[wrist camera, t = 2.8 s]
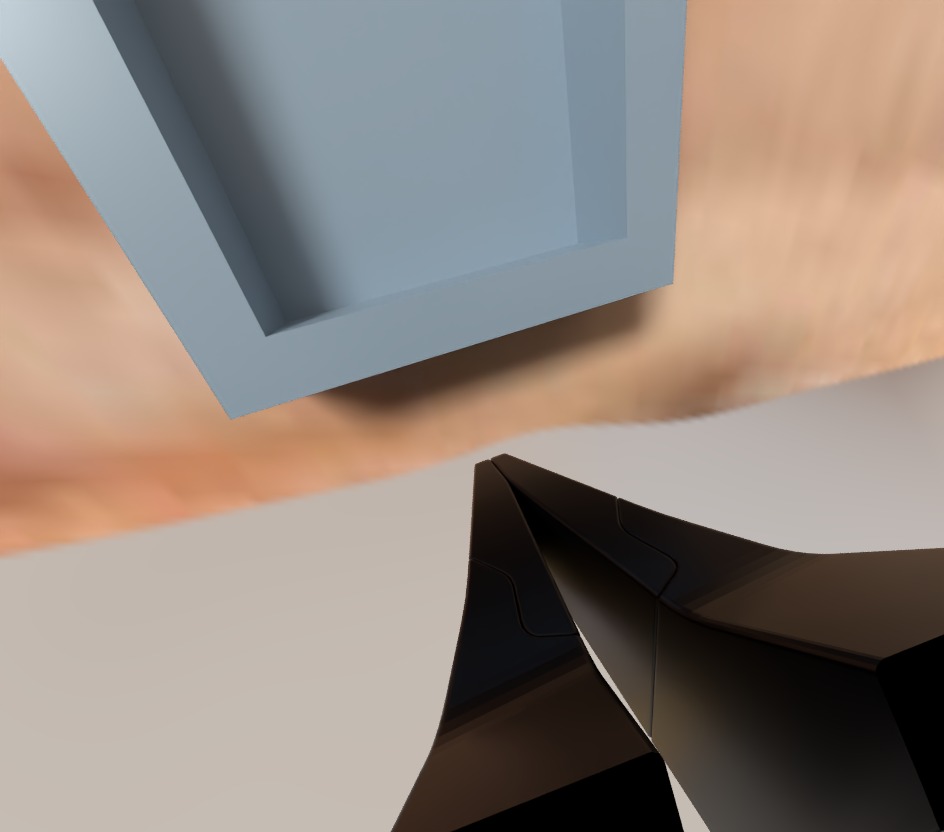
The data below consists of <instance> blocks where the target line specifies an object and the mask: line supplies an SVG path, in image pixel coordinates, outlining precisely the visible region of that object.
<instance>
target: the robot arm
mask: <svg viewBox="0 0 944 832" xmlns="http://www.w3.org/2000/svg"><path fill="white" fill-rule="evenodd" d="M469 552H470V553H469V565H468V579H467V588H466V598H465V604H464V610H463V616H462V622H461V627H460V632H459V637H458V641H457V647H456V651H455V656H454V661H453V665H452V670H451V676H450V680H449V685H448V690H447V695H446V700H445V703H444V708H443V712H442V716H441V720H440V723H439V727H438V730H437V733H436V737H435V740H434V743H433V746H432V748H431V750H430V753H429V755H428V757H427V760H426V762H425V764H424V766H423V768H422V770H421V772H420V774H419V776H418V778H417V780H416V782H415V784H414V786H413V788H412V790H411V792H410V794H409V796H408V798H407V800H406V802H405V804H404V806H403V808H402V810H401V812H400V814H399V816H398V818H397V820H396V822H395V824H394V826H393V828H392V830H391V832H684V830H683V827H682V823H681V819H680V816H679V812H678V809H677V805H676V801H675V798H674V794H673V790H672V787H671V783H670V780H669V776H668V772H667V769H666V765H665V762H666V764H667V765H668V767H669V768H670V770H671V771H672V773H673V775H674V776H675V778H676V779H677V781H678V782H679V784H680V785H681V787H682V788H683V790H684V792H685V793H686V794H687V796H688V798H689V799H690V801H691V802H692V804H693V805H694V807H695V808H696V810H697V811H698V813H699V815H700V816H701V818H702V819H703V821H704V822H705V824H706V826H707V827H708V829H709V830H710V832H944V548H935V549H915V550H897V551H879V552H860V553H840V554H811V553H801V552H794V551H789V550H784V549H779V548H775V547H771V546H768V545H764V544H761V543H757V542H754V541H750V540H747V539H744V538H740V537H737V536H734V535H730V534H727V533H724V532H720V531H716V530H714V529H710V528H707V527H704V526H700V525H697V524H693V523H690V522H687V521H684V520H681V519H678V518H675V517H671V516H668V515H665V514H662V513H659V512H656V511H653V510H651V509H648V508H645V507H642V506H640V505H637V504H634V503H632V502H629V501H626V500H624V499H621V498H618V499H617V497H616V496H613V495H610V494H608V493H605V492H603V491H600V490H598V489H595V488H593V487H590V486H588V485H585V484H582V483H580V482H577V481H575V480H572V479H570V478H567V477H564V476H562V475H559V474H557V473H554V472H552V471H549V470H546V469H544V468H541V467H539V466H536V465H533V464H531V463H528V462H526V461H523V460H521V459H518V458H516V457H513V456H510V455H508V454H501V455H499V456H496V457H493V458H491V461H490V460H485V461H482V462H480V463H477V464H475V469H474V486H473V502H472V518H471V535H470V551H469ZM573 620H574V621H575V623H576V624H577V625H578V627H579V629H580V631H581V632H582V634H583V635H584V637H585V638H586V640H587V641H588V643H589V644H590V646H591V648H592V649H593V651H594V652H595V654H596V655H597V657H598V658H599V660H600V661H601V663H602V664H603V666H604V668H605V669H606V670H607V672H608V674H609V675H610V677H611V678H612V680H613V681H614V683H615V684H616V686H617V688H618V689H619V691H620V692H621V694H622V695H623V697H624V699H625V700H626V702H627V703H628V705H629V706H630V708H631V709H632V711H633V712H634V714H635V715H636V717H637V718H638V720H639V722H640V723H641V725H642V726H643V728H644V729H645V731H646V732H647V734H648V736H649V737H651V738H652V742H653V744H654V745H655V746H654V745H653V744H652V742H651V741H650V740H649V738H648V737H647V736H646V734H645V733H644V732H643V730H642V729H641V728H640V726H639V725H638V723H637V722H636V721H635V719H634V718H633V717H632V715H631V714H630V713H629V711H628V710H627V709H626V707H625V706H624V705H623V703H622V702H621V701H620V699H619V698H618V697H617V695H616V694H615V692H614V691H613V690H612V688H611V687H610V686H609V684H608V683H607V682H606V680H605V679H604V678H603V676H602V675H601V673H600V672H599V670H598V669H597V667H596V665H595V663H594V661H593V660H592V658H591V656H590V654H589V652H588V650H587V648H586V646H585V644H584V642H583V640H582V638H581V637H580V634H579V631H578V629H577V627H576V625H575V623H574V621H573ZM655 747H656V748H657V749H656V748H655ZM658 751H659V752H658ZM660 754H661V755H660Z"/></svg>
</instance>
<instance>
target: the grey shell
mask: <svg viewBox="0 0 944 832" xmlns="http://www.w3.org/2000/svg"><path fill="white" fill-rule="evenodd" d="M686 8H687V0H0V58H1V60H2V61H3V63H4V64H5V66H6V68H7V69H8V71H9V72H10V74H11V75H12V77H13V79H14V80H15V82H16V83H17V85H18V86H19V88H20V90H21V91H22V93H23V94H24V96H25V97H26V99H27V101H28V102H29V104H30V105H31V107H32V108H33V110H34V112H35V113H36V115H37V116H38V118H39V119H40V121H41V123H42V124H43V126H44V127H45V129H46V130H47V132H48V134H49V135H50V137H51V138H52V140H53V141H54V143H55V145H56V146H57V148H58V149H59V151H60V152H61V154H62V156H63V157H64V159H65V160H66V162H67V163H68V165H69V167H70V168H71V170H72V171H73V173H74V174H75V176H76V178H77V179H78V181H79V182H80V184H81V185H82V187H83V189H84V190H85V192H86V193H87V195H88V196H89V198H90V200H91V201H92V203H93V204H94V206H95V207H96V209H97V211H98V212H99V214H100V215H101V217H102V218H103V220H104V222H105V223H106V225H107V226H108V228H109V229H110V231H111V233H112V234H113V236H114V237H115V239H116V240H117V242H118V244H119V245H120V247H121V248H122V250H123V251H124V253H125V255H126V256H127V258H128V259H129V261H130V262H131V264H132V266H133V267H134V269H135V270H136V272H137V273H138V275H139V277H140V278H141V280H142V281H143V283H144V284H145V286H146V288H147V289H148V291H149V292H150V294H151V295H152V297H153V299H154V300H155V302H156V303H157V305H158V306H159V308H160V310H161V311H162V313H163V314H164V316H165V317H166V319H167V321H168V322H169V324H170V325H171V327H172V328H173V330H174V332H175V333H176V335H177V336H178V338H179V339H180V341H181V343H182V344H183V346H184V347H185V349H186V350H187V352H188V354H189V355H190V357H191V358H192V360H193V361H194V363H195V365H196V366H197V368H198V369H199V371H200V372H201V374H202V376H203V377H204V379H205V380H206V382H207V383H208V385H209V387H210V388H211V390H212V391H213V393H214V394H215V396H216V398H217V399H218V401H219V402H220V404H221V405H222V407H223V409H224V410H225V412H226V413H227V415H228V416H229V418H230V420H231V419H234V418H237V417H241V416H244V415H247V414H250V413H254V412H257V411H260V410H263V409H267V408H270V407H273V406H276V405H280V404H283V403H286V402H289V401H293V400H296V399H299V398H302V397H306V396H309V395H312V394H315V393H319V392H322V391H325V390H328V389H332V388H335V387H338V386H341V385H345V384H348V383H351V382H354V381H358V380H361V379H364V378H367V377H371V376H374V375H377V374H380V373H384V372H387V371H390V370H393V369H397V368H400V367H403V366H406V365H410V364H413V363H416V362H419V361H422V360H426V359H429V358H432V357H435V356H439V355H442V354H445V353H448V352H452V351H455V350H458V349H461V348H465V347H468V346H471V345H474V344H478V343H481V342H484V341H487V340H491V339H494V338H497V337H500V336H504V335H507V334H510V333H513V332H517V331H520V330H523V329H526V328H530V327H533V326H536V325H539V324H543V323H546V322H549V321H552V320H556V319H559V318H562V317H565V316H569V315H572V314H575V313H578V312H582V311H585V310H588V309H591V308H595V307H598V306H601V305H604V304H608V303H611V302H614V301H617V300H621V299H624V298H627V297H630V296H634V295H637V294H640V293H643V292H647V291H650V290H653V289H656V288H660V287H663V286H666V285H669V284H673V273H674V253H675V232H676V212H677V192H678V171H679V151H680V130H681V110H682V90H683V69H684V49H685V29H686Z"/></svg>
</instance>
